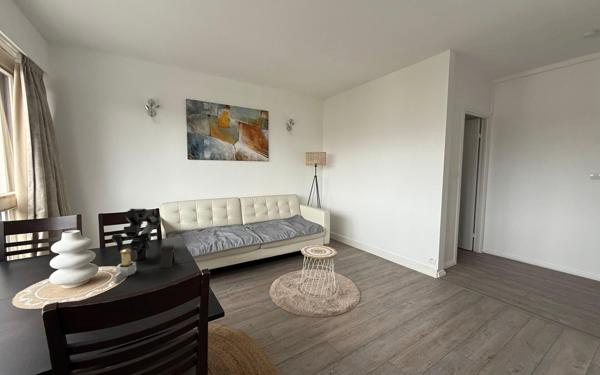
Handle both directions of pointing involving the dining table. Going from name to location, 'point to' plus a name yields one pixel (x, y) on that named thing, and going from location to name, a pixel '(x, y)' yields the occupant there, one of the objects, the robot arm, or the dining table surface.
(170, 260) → the door stopper
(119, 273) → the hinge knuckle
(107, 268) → the dining table surface
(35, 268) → the dining table surface
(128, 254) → the yellow tall cylinder
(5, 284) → the dining table surface
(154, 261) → the dining table surface
